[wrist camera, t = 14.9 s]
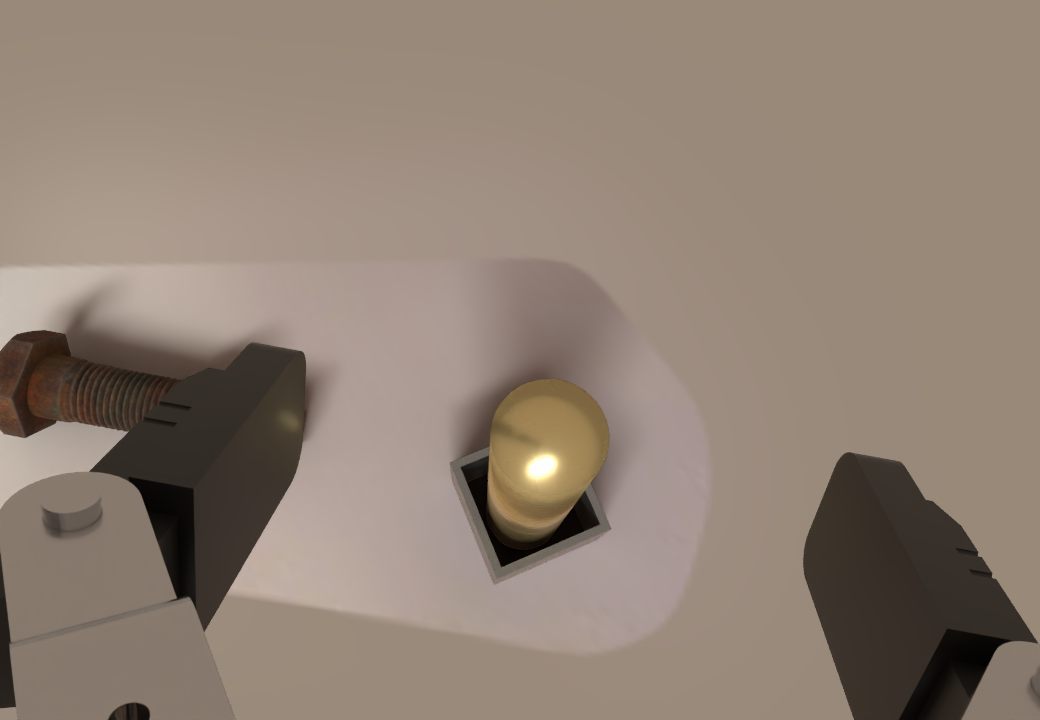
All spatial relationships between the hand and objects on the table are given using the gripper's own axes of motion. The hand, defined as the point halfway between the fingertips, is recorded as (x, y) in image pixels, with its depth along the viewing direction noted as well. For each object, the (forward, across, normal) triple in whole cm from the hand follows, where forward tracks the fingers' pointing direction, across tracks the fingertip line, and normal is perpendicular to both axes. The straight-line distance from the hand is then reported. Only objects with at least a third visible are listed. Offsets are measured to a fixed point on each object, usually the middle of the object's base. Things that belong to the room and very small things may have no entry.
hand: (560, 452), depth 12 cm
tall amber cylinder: (+26, -1, +20) cm, 33 cm away
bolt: (+27, +19, +20) cm, 39 cm away
